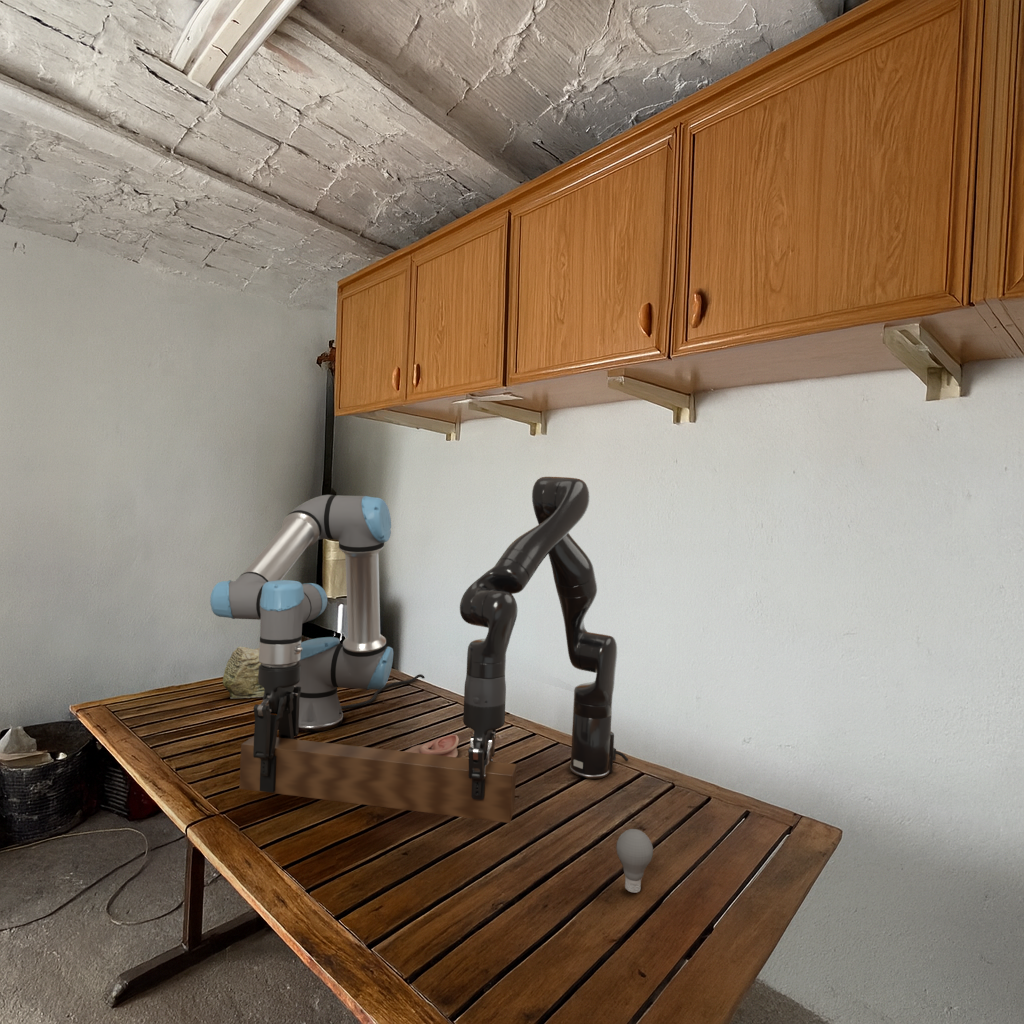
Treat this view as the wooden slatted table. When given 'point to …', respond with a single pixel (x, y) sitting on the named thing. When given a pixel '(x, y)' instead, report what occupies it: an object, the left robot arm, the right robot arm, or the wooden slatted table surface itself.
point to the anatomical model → (438, 747)
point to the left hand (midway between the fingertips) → (275, 783)
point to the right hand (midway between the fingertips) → (481, 790)
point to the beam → (383, 778)
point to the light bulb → (634, 857)
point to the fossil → (243, 674)
